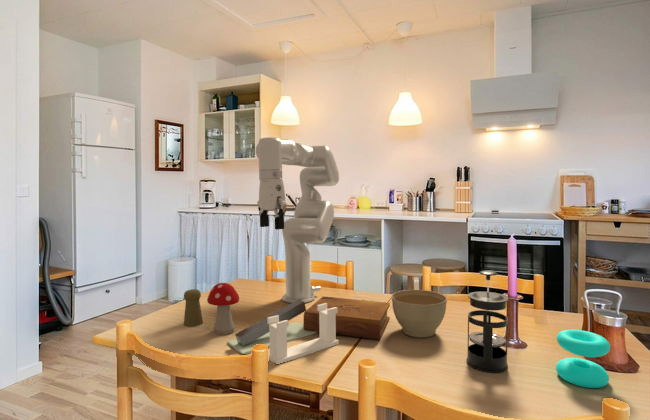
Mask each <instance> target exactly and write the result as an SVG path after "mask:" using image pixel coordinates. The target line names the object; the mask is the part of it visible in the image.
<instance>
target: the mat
mask: <svg viewBox="0 0 650 420" xmlns="http://www.w3.org/2000/svg"><path fill="white" fill-rule="evenodd" d="M317 333H318V332H316V331H308V330H304V323H301V322H299V321H296V322H293V323H289V327H287V343H288V342H291V341H294V340H297V339H301V338H305V337H308V336H311V335H315V334H317ZM226 343H227V345H229V346H230V347H232V348H233V349H234V350H236V351H237V352H238V353H240V354H241V355H242V354H246V355H248V354H251V348H252V347H253V346H254V345H256V344H265V345H268V348H270V339H269V332H268V333H267V334H265V335H263V336H261V337H260V338H258V339H256V340H254V341H253V342H251V343H249V344H248V345H246V346H244V347H242V346H240V345H239V344H238V342H237V339H236V338H233V339H230V340H227V342H226Z"/></svg>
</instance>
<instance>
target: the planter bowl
mask: <svg viewBox="0 0 650 420" xmlns="http://www.w3.org/2000/svg"><path fill="white" fill-rule="evenodd" d="M390 298H391V302H392V310H393V314H394V316H395V319H396V321H397V322H398V325H400V326H401V328H402V332H403V334H405V335H407V336H410V337H412V338H429V337H433V336H434V335H436V331H437V329H438V328H439V326H440V325H441V324H442V322H443V320H444V318H445V314H446V310H447V303H448V298H447V296H446V295H444V294H443V293H440V292H437V291H432V290H427V289H425V290H424V289H405V290H399V291H396V292H394V293H392V294H391V296H390Z"/></svg>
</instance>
